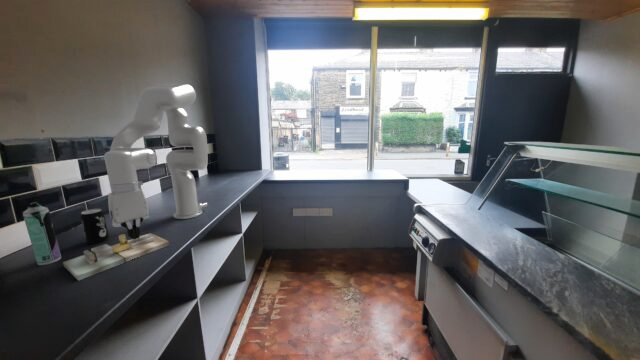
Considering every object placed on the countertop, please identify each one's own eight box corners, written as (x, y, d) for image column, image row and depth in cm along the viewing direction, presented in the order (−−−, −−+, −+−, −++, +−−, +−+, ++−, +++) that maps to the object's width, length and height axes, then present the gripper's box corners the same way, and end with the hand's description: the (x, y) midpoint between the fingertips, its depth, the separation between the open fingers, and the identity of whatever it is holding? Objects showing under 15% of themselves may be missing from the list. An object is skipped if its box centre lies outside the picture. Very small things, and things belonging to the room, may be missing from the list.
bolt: (128, 245, 88) (125, 232, 87) (131, 247, 87) (128, 234, 86) (91, 258, 80) (88, 244, 79) (94, 260, 79) (91, 246, 78)
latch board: (151, 236, 99) (149, 225, 98) (169, 245, 92) (167, 233, 91) (64, 266, 79) (60, 253, 78) (78, 280, 71) (74, 266, 70)
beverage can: (96, 245, 93) (88, 214, 90) (82, 243, 94) (74, 213, 91) (113, 237, 99) (107, 208, 96) (100, 236, 100) (93, 207, 98)
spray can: (65, 257, 84) (50, 200, 80) (43, 266, 79) (26, 206, 75) (55, 255, 86) (40, 199, 81) (33, 263, 81) (15, 204, 76)
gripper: (144, 181, 92) (153, 228, 96) (92, 191, 80) (104, 243, 84) (154, 184, 88) (162, 232, 92) (101, 194, 76) (113, 249, 80)
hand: (134, 237), depth 88 cm, fingers closed
